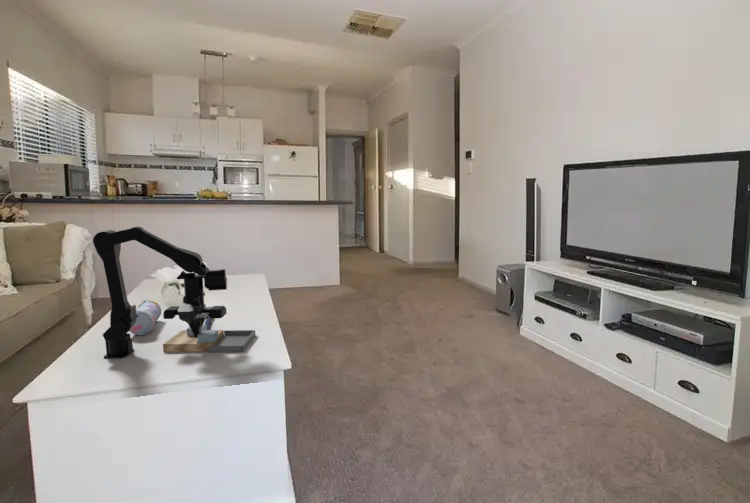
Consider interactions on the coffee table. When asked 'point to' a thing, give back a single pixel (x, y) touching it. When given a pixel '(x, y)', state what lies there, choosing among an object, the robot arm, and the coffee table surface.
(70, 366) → the coffee table surface
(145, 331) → the pencil case
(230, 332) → the tray
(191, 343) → the oak board
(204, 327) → the tile far
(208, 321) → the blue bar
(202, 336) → the tile near
